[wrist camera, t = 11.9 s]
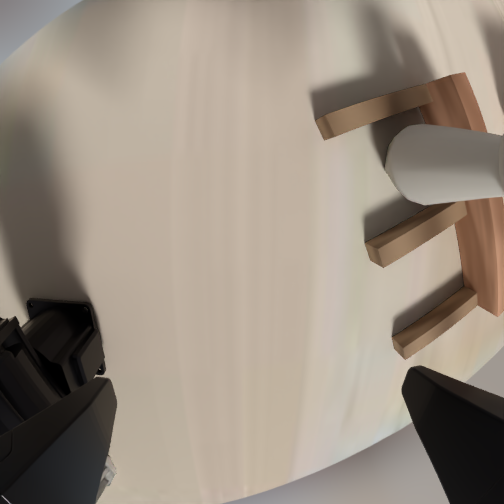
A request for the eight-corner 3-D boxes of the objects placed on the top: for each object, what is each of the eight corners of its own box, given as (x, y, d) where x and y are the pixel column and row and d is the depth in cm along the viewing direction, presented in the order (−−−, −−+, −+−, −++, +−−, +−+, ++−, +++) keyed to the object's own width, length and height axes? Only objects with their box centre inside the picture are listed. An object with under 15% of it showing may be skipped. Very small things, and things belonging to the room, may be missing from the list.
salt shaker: (362, 142, 19) (511, 121, 6) (414, 118, 19) (549, 97, 6) (392, 214, 20) (534, 256, 8) (439, 184, 20) (570, 204, 8)
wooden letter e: (394, 348, 24) (423, 378, 19) (315, 120, 18) (344, 104, 13) (476, 288, 24) (509, 305, 19) (426, 85, 18) (464, 72, 13)
